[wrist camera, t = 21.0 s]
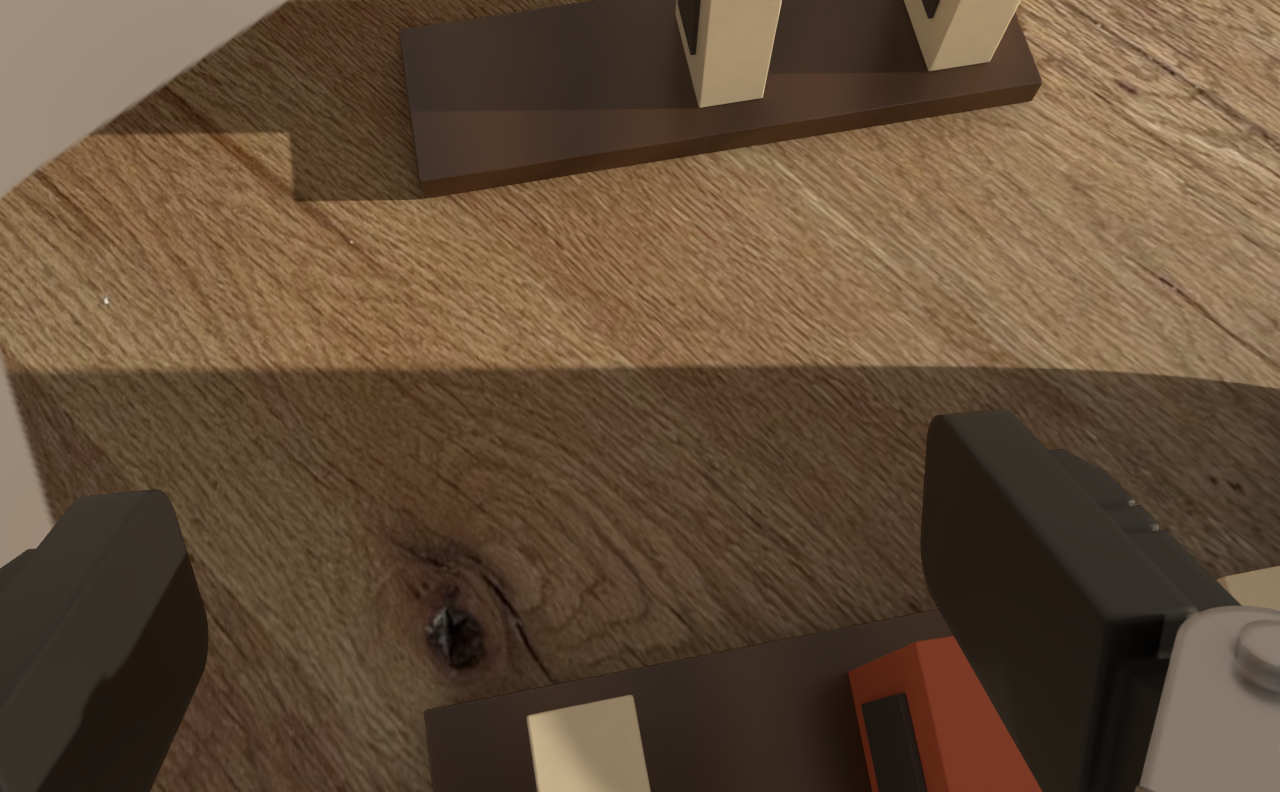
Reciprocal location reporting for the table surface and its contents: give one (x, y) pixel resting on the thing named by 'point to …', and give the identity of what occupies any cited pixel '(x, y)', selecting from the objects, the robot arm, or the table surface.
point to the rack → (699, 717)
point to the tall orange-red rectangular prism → (933, 725)
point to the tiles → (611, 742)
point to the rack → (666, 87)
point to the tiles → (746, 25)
